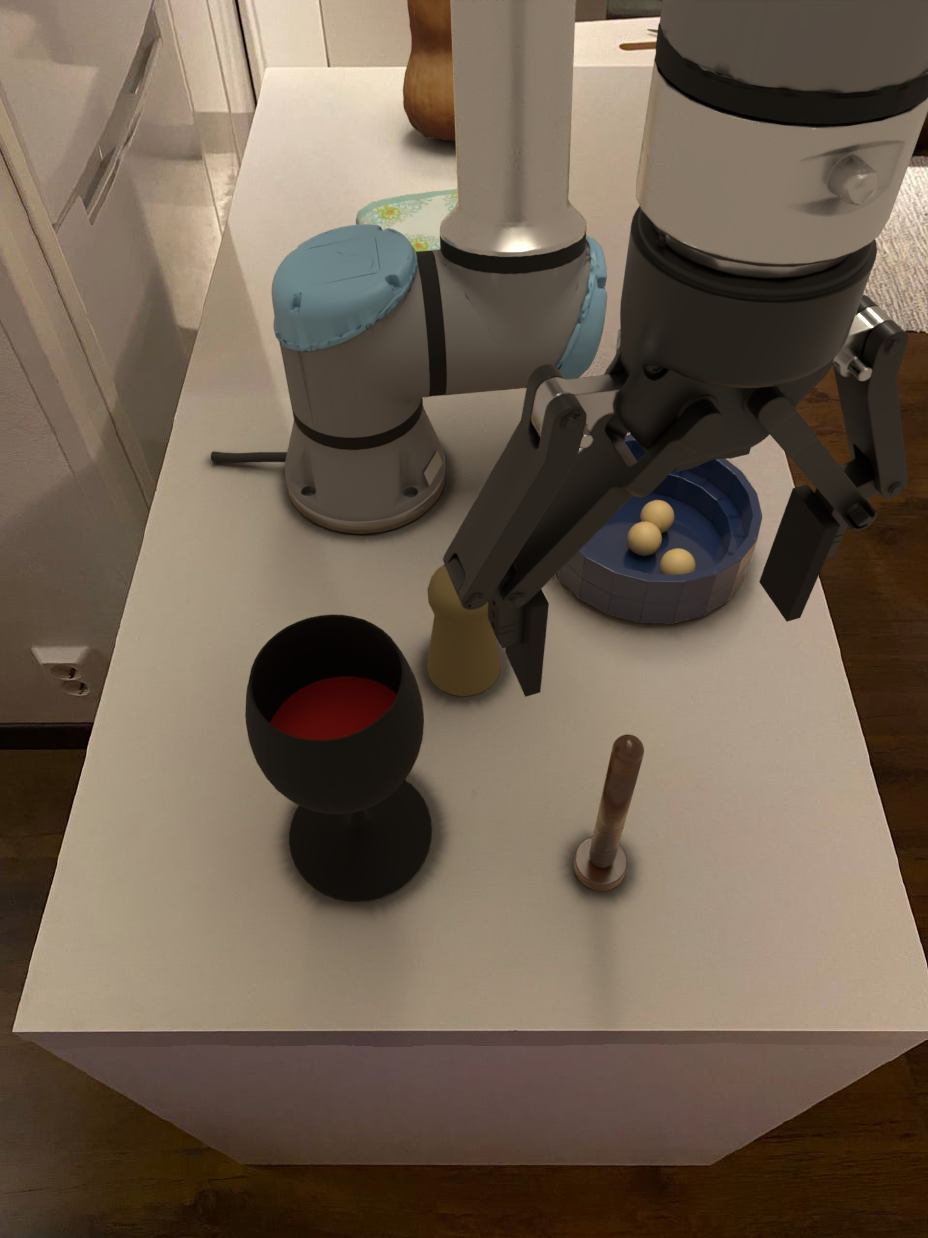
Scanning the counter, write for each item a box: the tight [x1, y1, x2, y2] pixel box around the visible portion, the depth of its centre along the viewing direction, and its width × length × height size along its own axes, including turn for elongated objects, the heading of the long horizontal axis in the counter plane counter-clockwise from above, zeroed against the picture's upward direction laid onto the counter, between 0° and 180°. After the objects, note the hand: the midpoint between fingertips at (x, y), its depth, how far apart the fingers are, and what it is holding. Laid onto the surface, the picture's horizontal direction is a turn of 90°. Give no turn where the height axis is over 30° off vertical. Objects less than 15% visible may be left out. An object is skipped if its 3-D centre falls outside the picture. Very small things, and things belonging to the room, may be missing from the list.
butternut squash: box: [402, 0, 456, 144], centre depth 125 cm, size 14×13×25 cm
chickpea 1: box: [640, 500, 674, 533], centre depth 85 cm, size 3×3×3 cm
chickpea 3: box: [660, 548, 696, 575], centre depth 81 cm, size 3×3×3 cm
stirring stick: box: [573, 733, 645, 892], centre depth 60 cm, size 4×4×17 cm
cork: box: [426, 564, 502, 697], centre depth 73 cm, size 6×6×11 cm
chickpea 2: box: [627, 522, 662, 556], centre depth 83 cm, size 3×3×3 cm
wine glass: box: [244, 614, 433, 902], centre depth 61 cm, size 10×10×20 cm
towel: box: [355, 188, 458, 252], centre depth 113 cm, size 18×21×5 cm
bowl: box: [556, 434, 763, 625], centre depth 83 cm, size 18×18×6 cm
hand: (654, 635), depth 46 cm, fingers open, 13 cm apart
